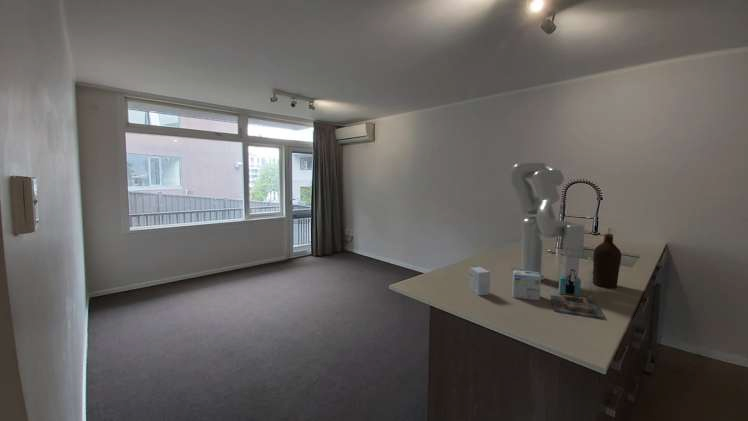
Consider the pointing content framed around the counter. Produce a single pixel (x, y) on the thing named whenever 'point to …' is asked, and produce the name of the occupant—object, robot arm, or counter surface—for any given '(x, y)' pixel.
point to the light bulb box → (526, 285)
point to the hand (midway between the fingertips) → (568, 291)
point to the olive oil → (606, 263)
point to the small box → (479, 281)
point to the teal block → (563, 286)
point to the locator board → (576, 306)
